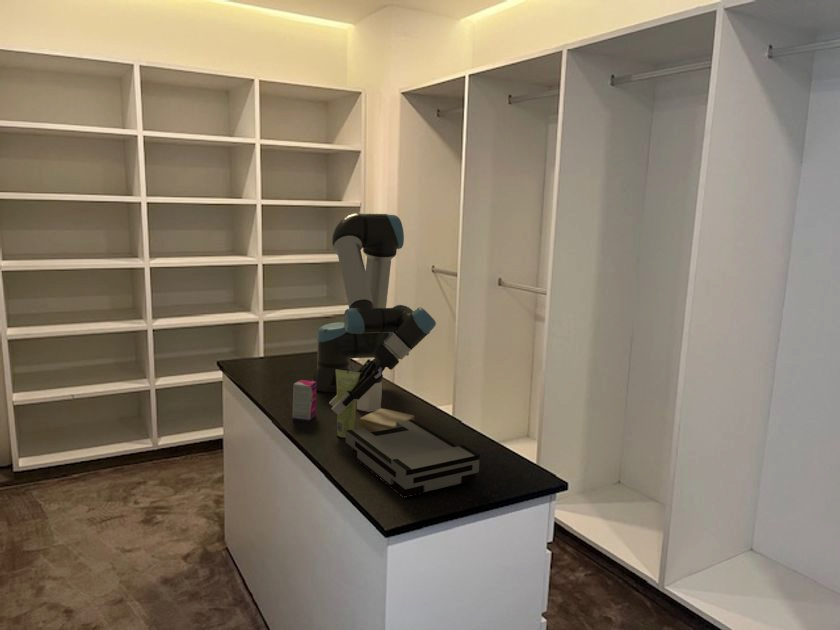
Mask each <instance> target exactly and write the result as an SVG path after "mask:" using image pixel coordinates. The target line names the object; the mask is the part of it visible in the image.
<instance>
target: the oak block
mask: <svg viewBox="0 0 840 630" xmlns="http://www.w3.org/2000/svg"><path fill="white" fill-rule="evenodd" d="M411 419H412V420H414V421H415V415H413V414H409V413H406V412H405V413H404V412H400V411H396V410H391V409H388V408H383V407H381V408H380V409H378V410H376V411H371V412H369V413H367V414H365V415H364V416H361V417H360V418H358V420H359V421H358V428H365V429H366V430H367V431H369V432H375V431H381V430H387V429H393V428H396V422H399V421H405V420H411Z"/></svg>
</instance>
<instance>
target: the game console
mask: <svg viewBox="0 0 840 630" xmlns="http://www.w3.org/2000/svg"><path fill="white" fill-rule="evenodd" d="M345 443H346V444H347V445H349V446H350V447H351V448H352V450H351V451H352V452H353V454H355V455H356V457H355V458H356V459H357V460H358V461H359V462H361V463H362V464H363V465H365V466H366V467H367V468H368V469H369V470H370V471H369V470H368V469H367V468H366V467H365V468H366V469H367V470H368V471H369V472H371V471H372V472H373V473H374V474H375V475H377V476H378V477H379V478H381V479H382V480H383V481H384V482H385V483H387V484H388V485H389V486H390V487H392V488H393V489H394V490H396V491H397V492H398V493H399V494H401V495H402V496H403V497H404V496H409V495H414V496H416V495H415V494H419V493H423V492H425V493H426V492H429V491H435V490H439V489H442V488H447V487H449V486H450V487H449V488H452V487H457V486H460V485H463V484H469V483H471V481H475V480H476V473H477V474H478V473H479V472H480V458H481V457H480V456H481V455H480V454H479V453H478V452H476V451H474V450H473V449H471V448H469V447H468V446H466V445H464V444H463V445H456V444H454V443H452V442H451V441H449V440H447V439H446V438H444V437H443V436H441V435H440V434H437V433H436V432H435V431H432V430H431V429H429V428H428V427H426V426H425V425H422V424H421V423H419V422H417V421H415V419H414V420H412V419H411V420H405V421H399V422H396V428H393V429H387V430H381V431H375V432H369V431H367V430H366V429H365V428H359V427H358V428H354V429H351V430H346V438H345ZM357 460H356V461H357ZM358 461H357V462H358ZM359 462H358V463H359ZM361 463H360V464H361ZM362 464H361V465H362ZM363 465H362V466H363ZM372 472H371V473H372ZM373 473H372V474H373ZM374 474H373V475H374ZM375 475H374V476H375ZM377 476H376V477H377ZM378 477H377V478H378ZM379 478H378V479H379ZM382 480H381V481H382ZM383 481H382V482H383ZM384 482H383V483H384ZM385 483H384V484H385ZM388 485H387V486H388ZM389 486H388V487H389ZM451 486H452V487H451ZM390 487H389V488H390ZM393 489H392V490H393ZM394 490H393V491H394ZM398 493H397V494H398ZM399 494H398V495H399ZM423 494H424V493H423ZM419 495H420V494H419Z"/></svg>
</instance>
